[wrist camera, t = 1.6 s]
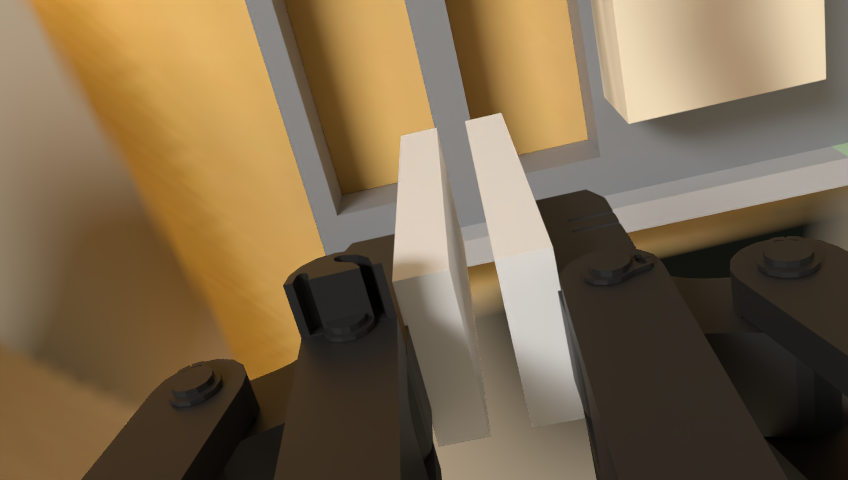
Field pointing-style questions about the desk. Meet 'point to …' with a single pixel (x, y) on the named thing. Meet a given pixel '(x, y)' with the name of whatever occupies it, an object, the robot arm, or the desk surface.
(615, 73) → the block
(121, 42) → the desk surface
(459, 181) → the lane deck
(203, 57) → the desk surface
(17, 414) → the desk surface
